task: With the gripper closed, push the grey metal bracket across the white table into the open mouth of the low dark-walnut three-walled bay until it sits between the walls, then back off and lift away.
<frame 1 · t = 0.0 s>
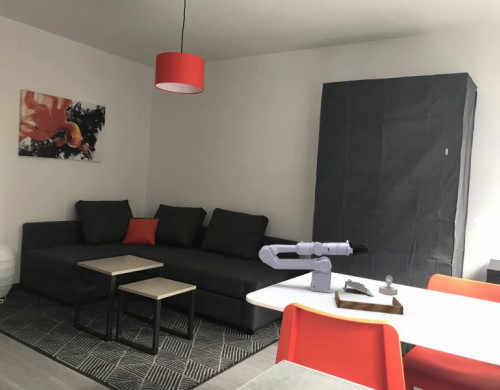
hand: (366, 248, 197), 22 cm above the table, tool horizontal, fingers open, 7 cm apart
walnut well: (367, 305, 178), on the table
metal bracket: (357, 292, 203), on the table
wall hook: (387, 293, 204), on the table
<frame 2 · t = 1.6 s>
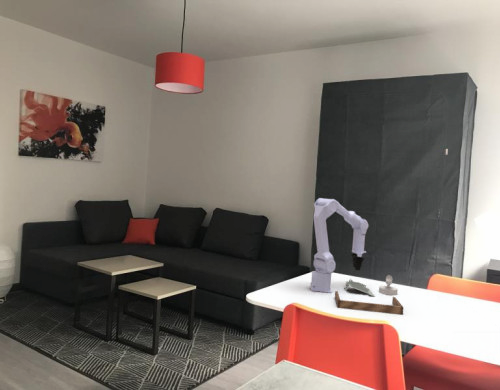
hand: (356, 268, 211), 9 cm above the table, tool pointing down, fingers open, 7 cm apart
nothing on the table moved.
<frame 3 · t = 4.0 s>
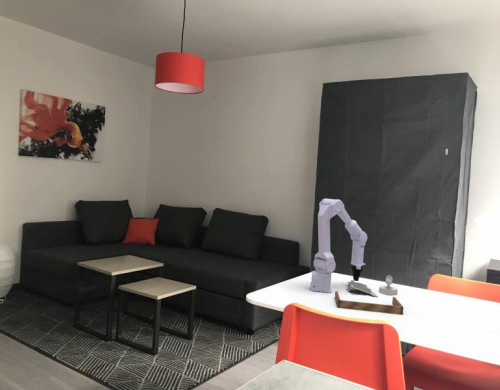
hand: (355, 280, 212), 3 cm above the table, tool pointing down, fingers closed
metal bracket: (360, 293, 202), on the table
everything else where it was.
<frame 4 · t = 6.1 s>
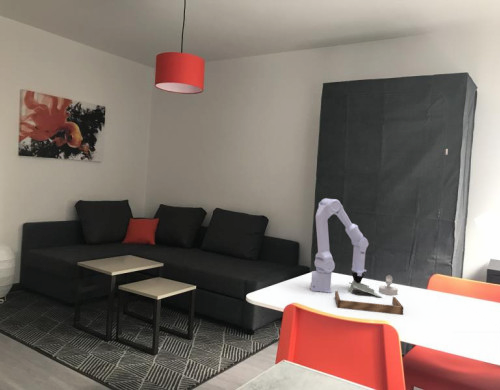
hand: (356, 287, 206), 1 cm above the table, tool pointing down, fingers closed
metal bracket: (363, 294, 200), on the table, touching gripper
everything else where it was.
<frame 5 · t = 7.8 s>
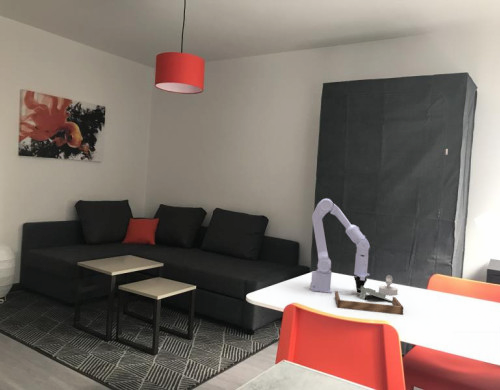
hand: (359, 292, 196), 1 cm above the table, tool pointing down, fingers closed
metal bracket: (372, 299, 191), on the table
everything else where it was.
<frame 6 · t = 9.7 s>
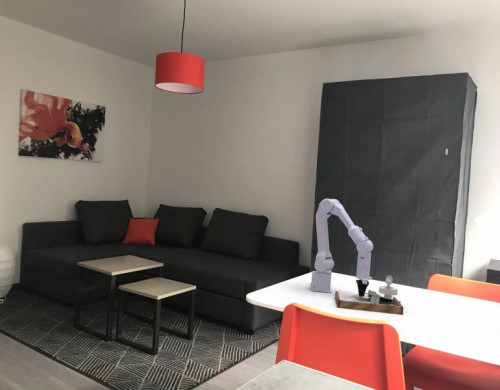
hand: (361, 296, 189), 1 cm above the table, tool pointing down, fingers closed
metal bracket: (379, 302, 187), on the table, touching gripper
everything else where it was.
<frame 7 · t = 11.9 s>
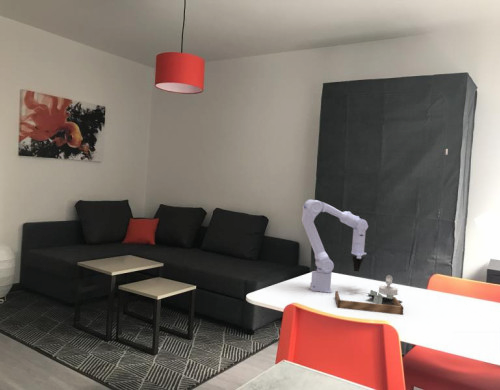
hand: (356, 271, 202), 10 cm above the table, tool pointing down, fingers closed
metal bracket: (381, 302, 188), on the table
everything else where it was.
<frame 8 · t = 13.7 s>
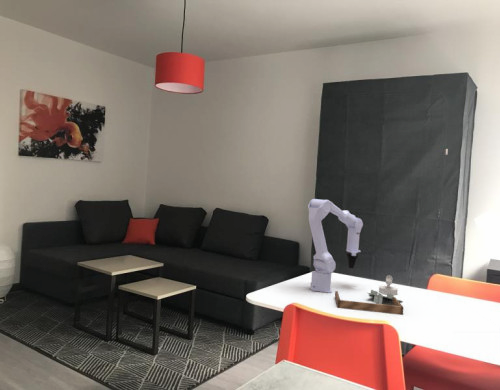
hand: (351, 268, 210), 10 cm above the table, tool pointing down, fingers closed
nothing on the table moved.
at the end: metal bracket inside the target area (10.7 cm from its centre), on the table; metal bracket moved 16.2 cm from its start; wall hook moved 0.3 cm from its start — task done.
